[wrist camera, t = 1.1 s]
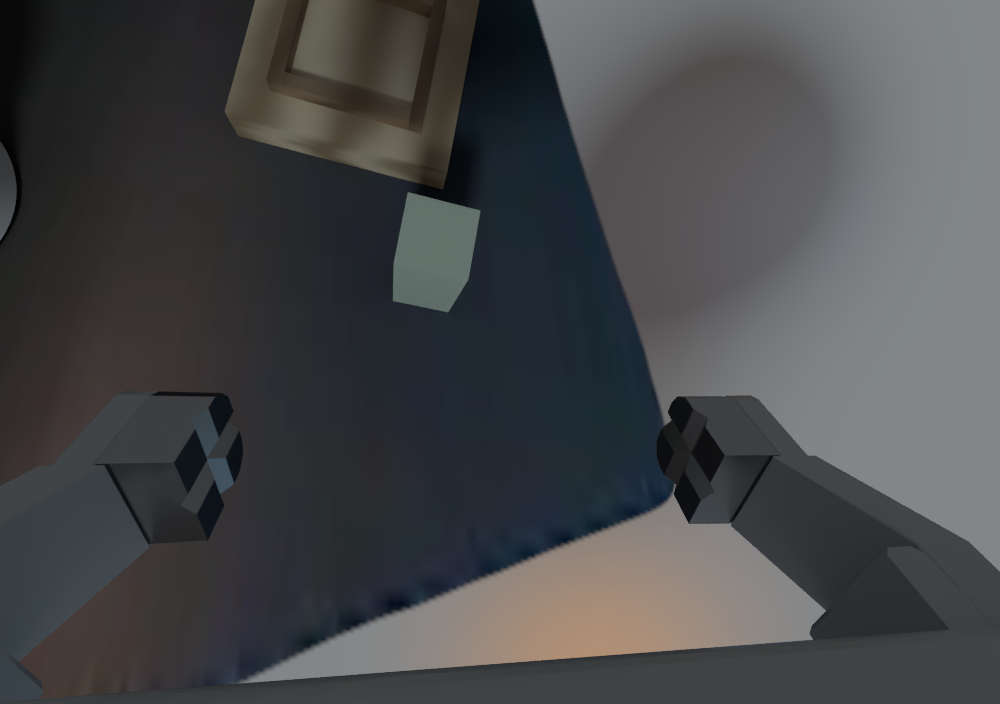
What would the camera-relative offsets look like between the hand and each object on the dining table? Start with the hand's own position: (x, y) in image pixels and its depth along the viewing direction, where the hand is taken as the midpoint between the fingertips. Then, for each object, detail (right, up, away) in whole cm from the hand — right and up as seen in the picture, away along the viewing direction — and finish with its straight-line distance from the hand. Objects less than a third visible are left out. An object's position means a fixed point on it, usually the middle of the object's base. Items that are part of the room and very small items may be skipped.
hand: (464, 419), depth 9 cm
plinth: (-11, +24, +30) cm, 40 cm away
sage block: (-5, +7, +29) cm, 30 cm away
